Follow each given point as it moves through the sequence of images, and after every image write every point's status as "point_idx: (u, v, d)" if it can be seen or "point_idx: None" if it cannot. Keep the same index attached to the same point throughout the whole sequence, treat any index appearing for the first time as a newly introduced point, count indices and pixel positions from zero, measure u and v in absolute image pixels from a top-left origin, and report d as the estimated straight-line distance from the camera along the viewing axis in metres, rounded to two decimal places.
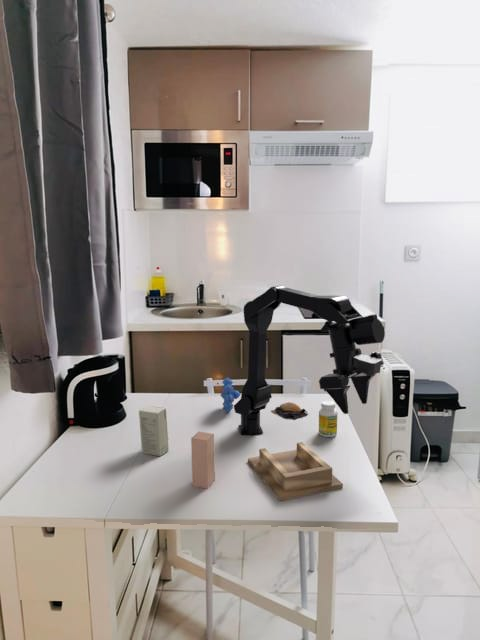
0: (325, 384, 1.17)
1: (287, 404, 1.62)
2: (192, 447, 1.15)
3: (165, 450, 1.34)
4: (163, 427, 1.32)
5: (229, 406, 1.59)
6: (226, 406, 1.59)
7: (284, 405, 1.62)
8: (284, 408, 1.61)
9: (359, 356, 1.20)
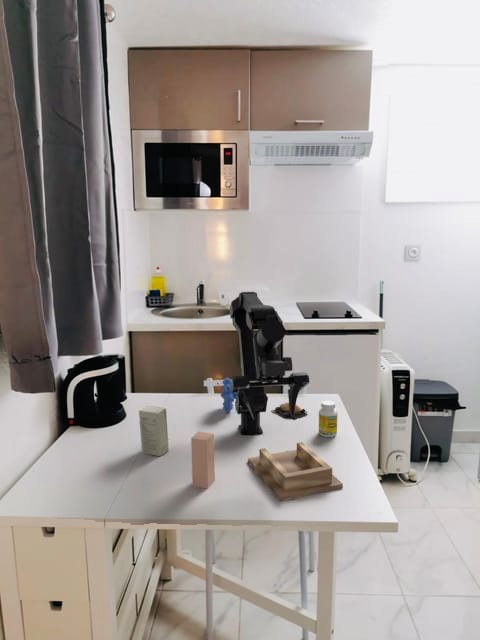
0: (231, 386, 1.20)
1: (287, 404, 1.62)
2: (192, 447, 1.15)
3: (165, 450, 1.34)
4: (163, 427, 1.32)
5: (229, 406, 1.59)
6: (226, 406, 1.59)
7: (284, 405, 1.62)
8: (284, 408, 1.61)
9: (270, 361, 1.19)
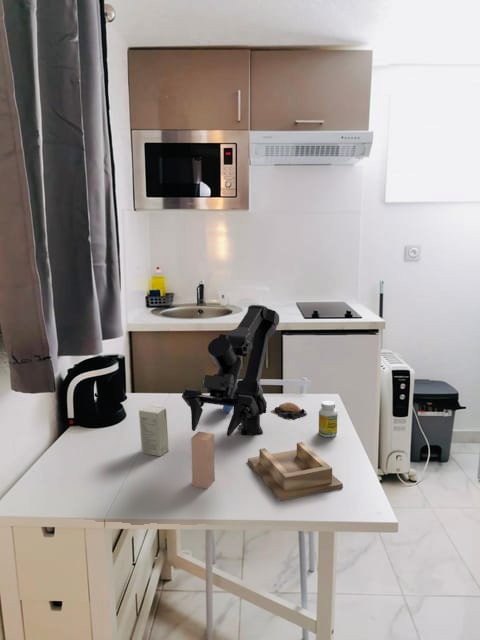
0: None
1: (286, 404, 1.62)
2: (192, 447, 1.15)
3: (165, 450, 1.34)
4: (163, 427, 1.32)
5: (229, 406, 1.59)
6: (226, 406, 1.59)
7: (283, 405, 1.62)
8: (283, 408, 1.61)
9: None
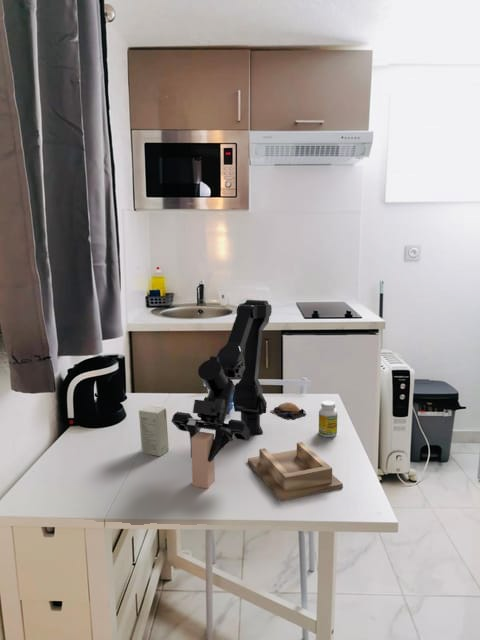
0: None
1: (286, 404, 1.62)
2: (192, 447, 1.15)
3: (165, 450, 1.34)
4: (163, 427, 1.32)
5: (229, 406, 1.59)
6: None
7: (283, 405, 1.62)
8: (282, 408, 1.61)
9: None
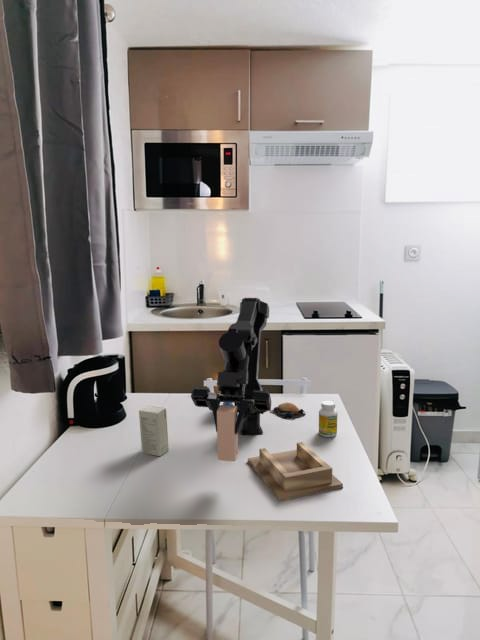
0: None
1: (285, 404, 1.62)
2: (218, 420, 1.13)
3: (165, 450, 1.34)
4: (163, 427, 1.32)
5: None
6: None
7: (282, 405, 1.62)
8: (282, 408, 1.61)
9: None
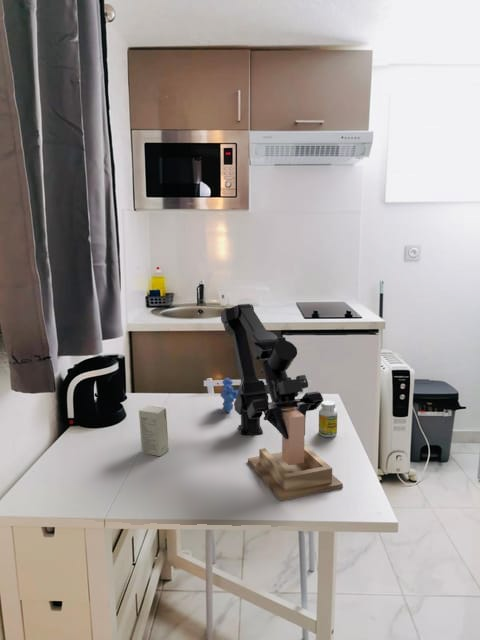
0: (249, 412, 1.21)
1: None
2: (290, 427, 1.17)
3: (165, 450, 1.34)
4: (163, 427, 1.32)
5: (229, 406, 1.59)
6: (226, 406, 1.59)
7: None
8: None
9: None
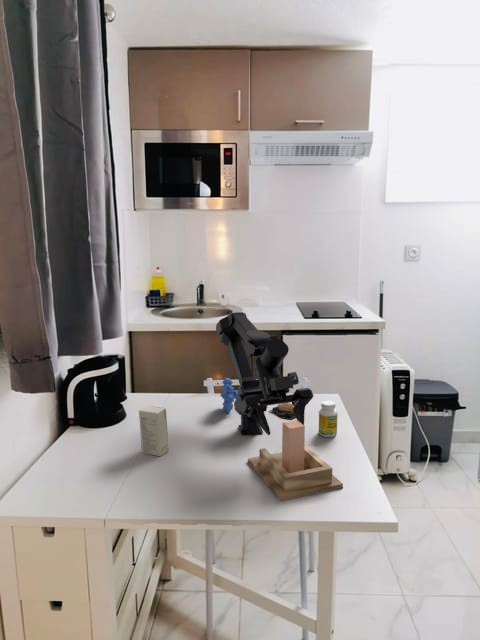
0: (242, 407, 1.26)
1: (284, 404, 1.62)
2: (290, 437, 1.18)
3: (165, 450, 1.34)
4: (163, 427, 1.32)
5: (229, 406, 1.59)
6: (226, 406, 1.59)
7: (281, 405, 1.62)
8: (281, 408, 1.61)
9: None
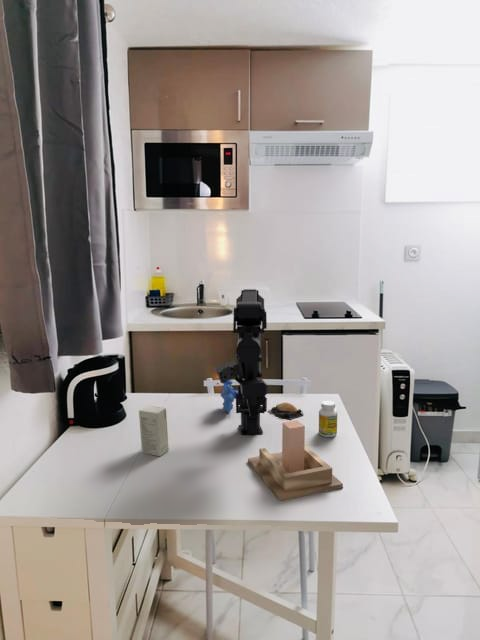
0: None
1: (283, 404, 1.62)
2: (290, 437, 1.18)
3: (165, 450, 1.34)
4: (163, 427, 1.32)
5: (229, 406, 1.59)
6: (226, 406, 1.59)
7: (280, 405, 1.62)
8: (280, 408, 1.61)
9: (234, 362, 1.26)
